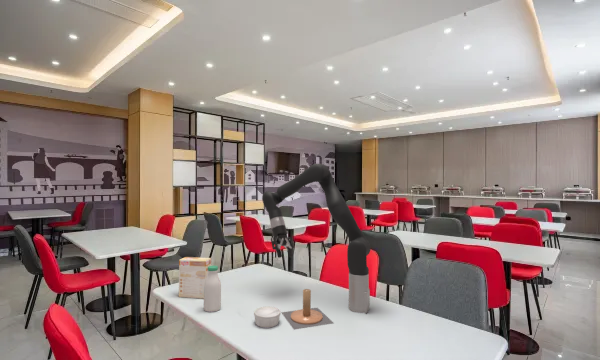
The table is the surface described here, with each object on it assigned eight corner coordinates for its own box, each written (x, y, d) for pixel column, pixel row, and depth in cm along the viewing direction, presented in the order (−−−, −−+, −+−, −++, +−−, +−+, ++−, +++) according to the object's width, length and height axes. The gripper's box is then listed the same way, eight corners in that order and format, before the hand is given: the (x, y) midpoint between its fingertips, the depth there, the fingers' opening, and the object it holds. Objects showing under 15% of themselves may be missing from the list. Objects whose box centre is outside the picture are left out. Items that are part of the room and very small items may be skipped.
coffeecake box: (211, 294, 170) (211, 257, 171) (205, 299, 163) (205, 260, 164) (185, 292, 173) (185, 256, 173) (178, 297, 166) (178, 259, 166)
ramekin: (279, 330, 130) (279, 317, 130) (251, 329, 130) (251, 316, 130) (281, 318, 141) (281, 306, 141) (256, 318, 142) (256, 306, 142)
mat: (317, 308, 153) (317, 307, 153) (334, 324, 136) (334, 323, 136) (281, 313, 147) (281, 312, 147) (293, 330, 130) (293, 329, 130)
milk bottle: (224, 309, 151) (224, 266, 151) (209, 313, 145) (210, 269, 146) (215, 304, 156) (215, 263, 156) (200, 309, 151) (201, 266, 151)
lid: (327, 314, 145) (327, 287, 145) (315, 327, 132) (315, 297, 132) (298, 309, 151) (299, 283, 151) (285, 320, 138) (285, 292, 138)
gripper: (274, 223, 162) (282, 255, 156) (291, 224, 173) (299, 254, 168) (264, 229, 166) (271, 259, 160) (281, 229, 177) (288, 258, 171)
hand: (285, 257), depth 164 cm, fingers open, 8 cm apart
